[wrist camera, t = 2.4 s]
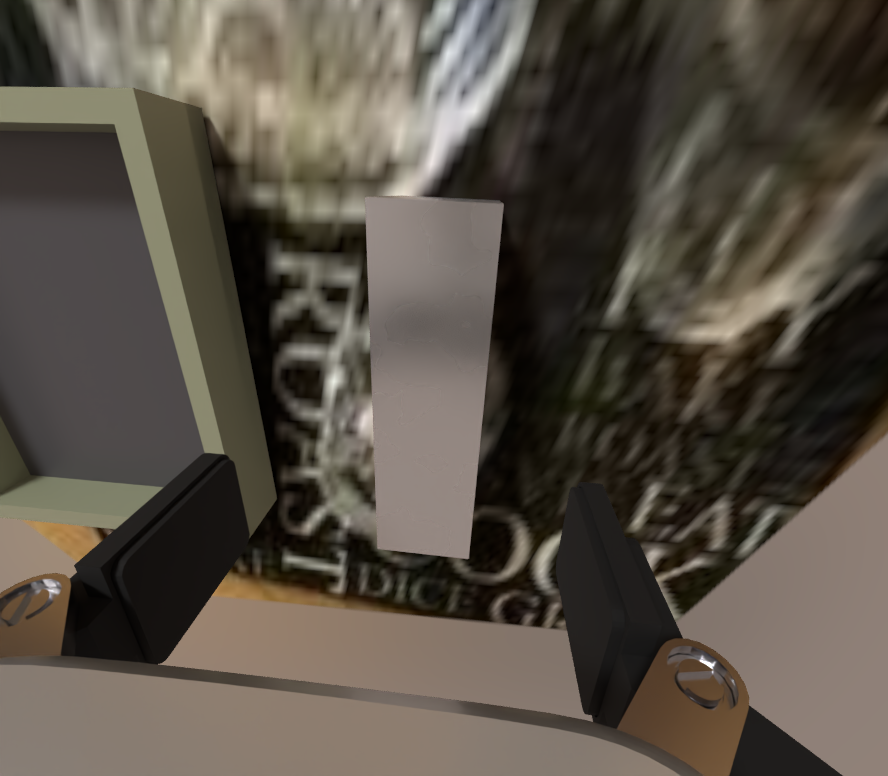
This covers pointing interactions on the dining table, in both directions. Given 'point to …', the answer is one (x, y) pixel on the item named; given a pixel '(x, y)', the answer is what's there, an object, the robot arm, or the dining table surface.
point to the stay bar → (429, 363)
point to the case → (116, 309)
